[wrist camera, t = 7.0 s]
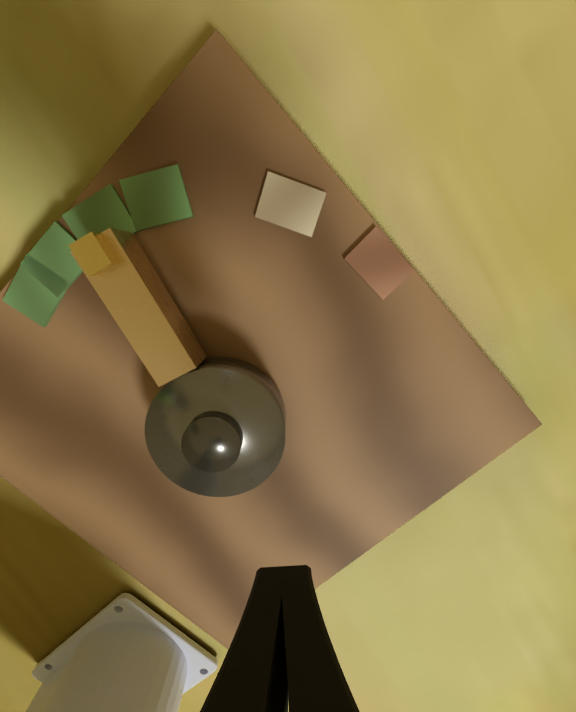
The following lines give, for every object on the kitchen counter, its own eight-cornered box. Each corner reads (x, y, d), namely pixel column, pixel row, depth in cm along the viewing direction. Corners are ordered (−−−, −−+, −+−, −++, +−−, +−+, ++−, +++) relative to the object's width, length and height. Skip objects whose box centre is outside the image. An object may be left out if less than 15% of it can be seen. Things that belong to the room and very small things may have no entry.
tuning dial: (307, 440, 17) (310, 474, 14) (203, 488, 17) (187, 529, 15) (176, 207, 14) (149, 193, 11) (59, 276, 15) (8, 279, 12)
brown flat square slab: (232, 633, 22) (229, 654, 20) (-73, 397, 18) (-99, 406, 16) (528, 415, 18) (545, 426, 16) (220, 44, 14) (214, 23, 12)
